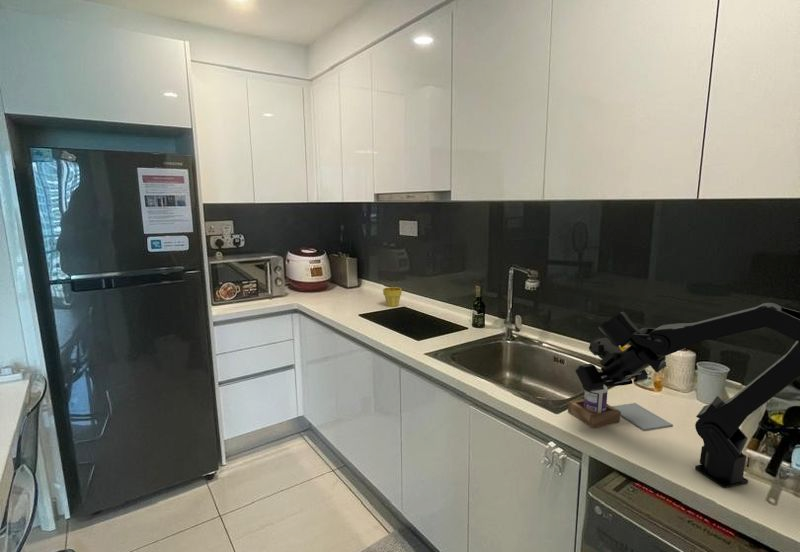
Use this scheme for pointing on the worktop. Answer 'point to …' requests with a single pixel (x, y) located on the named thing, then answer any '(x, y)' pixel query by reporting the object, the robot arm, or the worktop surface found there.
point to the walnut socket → (594, 419)
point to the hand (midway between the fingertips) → (592, 386)
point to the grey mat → (641, 417)
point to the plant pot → (392, 296)
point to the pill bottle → (596, 400)
